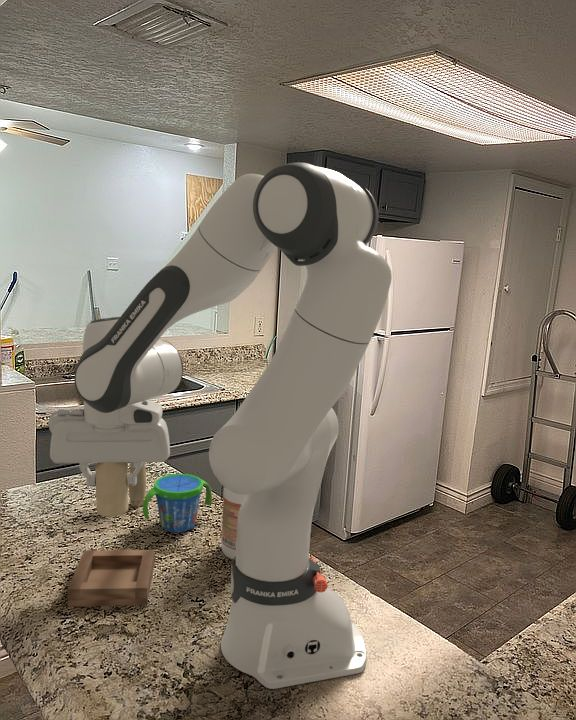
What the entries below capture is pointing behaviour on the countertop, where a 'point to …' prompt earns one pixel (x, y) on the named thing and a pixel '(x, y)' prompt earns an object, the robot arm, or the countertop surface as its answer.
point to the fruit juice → (230, 521)
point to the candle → (111, 488)
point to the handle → (138, 487)
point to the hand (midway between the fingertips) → (112, 485)
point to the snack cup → (177, 501)
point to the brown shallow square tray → (112, 578)
